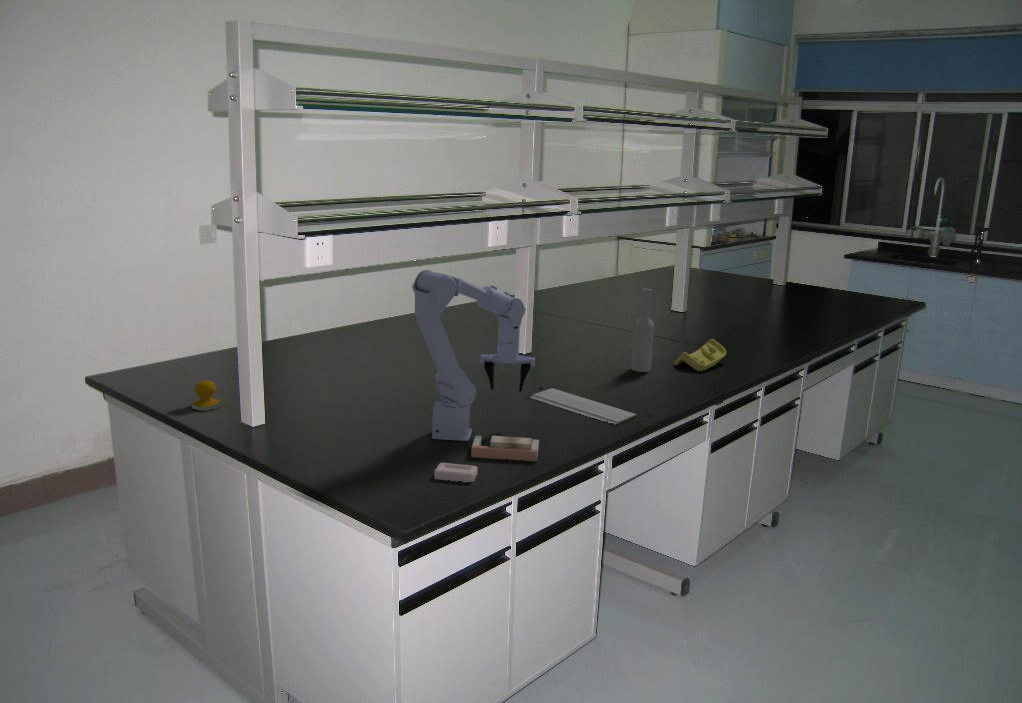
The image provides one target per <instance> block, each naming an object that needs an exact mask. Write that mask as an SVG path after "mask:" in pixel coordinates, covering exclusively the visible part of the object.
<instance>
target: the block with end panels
mask: <svg viewBox="0 0 1022 703" xmlns="http://www.w3.org/2000/svg"><path fill="white" fill-rule="evenodd" d="M482 439H483V438H482V435H475V437H474V439H473V442H472V445H471V450H470V451H471V453H470V454H471V455H470V457H471V458H479V459H492V460H506V459H508V460H511V461H521V460H523V462H535V461H537V462H538V456H539V450H538V449H539V448H540V439H536V438H535V439H533V438H532V449H521V448H506V447H491V446H490V445H488V446H487V445H482ZM508 460H507V461H508Z"/></svg>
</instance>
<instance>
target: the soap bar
mask: <svg viewBox="0 0 1022 703" xmlns="http://www.w3.org/2000/svg"><path fill="white" fill-rule="evenodd" d="M478 471H479V470H478V466H477V465H470V464H469V465H468V464H459V463H458V464H457V463H449V462H440V463H438V465H437V467H435V470H434V471H433V473H434V474H433V475H434V476H433V478H434V479H435V480H439V481H441V480H443V481H448V480H450V481H449V482H458V481H462V482H461V483H467V482H473V481H474V482H475V480H476V478H477V476H478ZM476 475H477V476H476ZM475 477H476V478H475ZM474 479H475V480H474ZM474 482H473V483H474Z"/></svg>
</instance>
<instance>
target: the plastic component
mask: <svg viewBox="0 0 1022 703" xmlns="http://www.w3.org/2000/svg"><path fill="white" fill-rule="evenodd" d="M726 355H727V350H726V349H725V347H724V345H722V344H720V343H719V342H718V341H716V340H715V339H714V338H711V339H708V340H707V341H706V342H705V343H704V344H703V345H702V346H700V347H699V348H698V349H697V350H696V351H694V352H691V353H690V354H689V353H688V352H685V351H683V352H682V353H681V354H680V355H679V356H678V357H677V358H676V360H675V361H674V362H673V365H675V366H679V364H680V365H681V363H682V364H684V363H686V364H687V365H689V367H691V368H692V369H694V370H695V371H696V370H697V372H700V371H701V372H704V371H706V370H708V369H710V368H712V367H714V366H716V365H717V364H718V362H719V361H721V360H722V359H723V358H724V357H725V356H726ZM683 362H684V363H683ZM703 370H704V371H703Z"/></svg>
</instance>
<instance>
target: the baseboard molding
mask: <svg viewBox="0 0 1022 703" xmlns="http://www.w3.org/2000/svg"><path fill="white" fill-rule="evenodd" d="M543 389H545V388H544V387H543V386H541V387H539V388H538V389H537V390H534V391H533V394H532V391H530V392H529V395H530V394H532V395H531V396H529V395H527V396H526V397H527V400H528V399H530V400H533V399H534V401H536V400H537V401H536V402H539V401H540V402H539V403H542V402H543V403H544V404H545V403H546V405H549V406H552V407H555V408H557V409H561V408H562V409H561V410H564V409H565V410H564V411H567V410H568V412H570V411H571V413H573V412H574V413H573V414H576V413H577V415H579V414H581V416H583V415H584V416H583V417H586V416H587V417H586V418H589V417H591V418H590V419H592V418H595V419H598V420H601V421H605V422H606V421H608V423H614V425H615V424H618V423H621V422H623V421H625V420H628V419H630V418H632V417H634V416H636V417H637V414H636V413H633V412H631V411H627V410H624V409H620V408H617V407H615V406H611V405H608V404H604V403H601V402H599V401H595V400H591V399H588V398H586V397H581V396H579V395H577V394H576V395H575V394H572V393H569V392H566V391H564V390H560V389H556V388H553V387H551V388H547V389H545V390H543ZM539 390H543V391H540V392H538V391H539ZM534 392H537V393H534ZM595 419H594V420H595ZM598 420H597V421H598ZM630 420H631V419H630ZM601 421H600V422H601ZM628 421H629V420H628ZM625 422H626V421H625ZM623 423H624V422H623ZM621 424H622V423H621ZM618 425H619V424H618Z"/></svg>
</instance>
